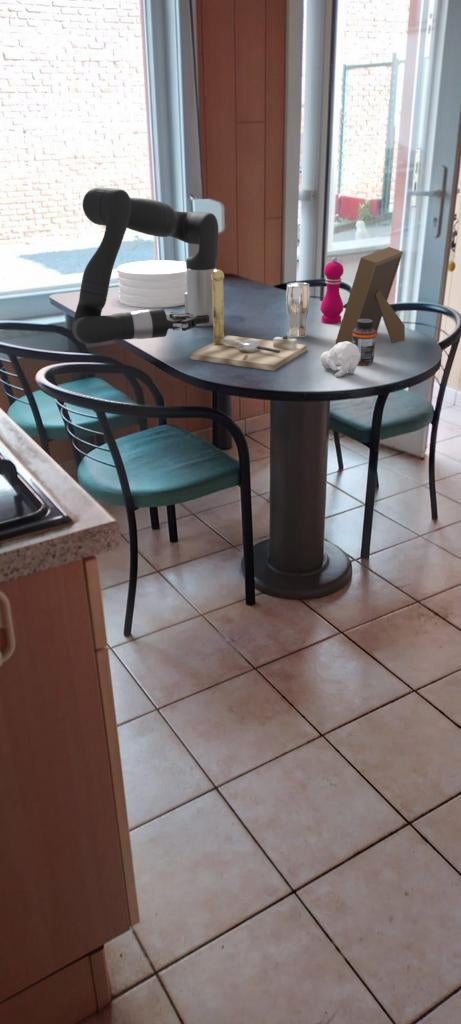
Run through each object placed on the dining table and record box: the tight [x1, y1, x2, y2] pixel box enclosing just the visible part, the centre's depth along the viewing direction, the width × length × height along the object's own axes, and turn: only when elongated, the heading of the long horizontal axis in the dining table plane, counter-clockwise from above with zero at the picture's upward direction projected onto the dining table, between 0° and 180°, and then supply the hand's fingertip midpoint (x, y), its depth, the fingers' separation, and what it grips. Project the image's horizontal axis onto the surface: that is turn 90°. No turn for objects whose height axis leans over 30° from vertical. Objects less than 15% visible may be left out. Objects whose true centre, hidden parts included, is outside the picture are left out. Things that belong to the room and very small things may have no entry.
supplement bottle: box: [352, 319, 377, 366], centre depth 204 cm, size 6×6×11 cm
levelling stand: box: [189, 335, 308, 372], centre depth 213 cm, size 25×22×5 cm
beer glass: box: [285, 281, 311, 339], centre depth 229 cm, size 7×7×15 cm
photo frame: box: [335, 246, 406, 345], centre depth 220 cm, size 15×22×25 cm
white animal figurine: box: [319, 341, 361, 378], centre depth 197 cm, size 6×8×12 cm
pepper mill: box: [320, 256, 344, 325], centre depth 244 cm, size 7×7×20 cm
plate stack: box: [116, 260, 187, 309], centre depth 279 cm, size 28×28×12 cm
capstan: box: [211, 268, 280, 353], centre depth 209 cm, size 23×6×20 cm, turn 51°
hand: (208, 318), depth 215 cm, fingers closed
